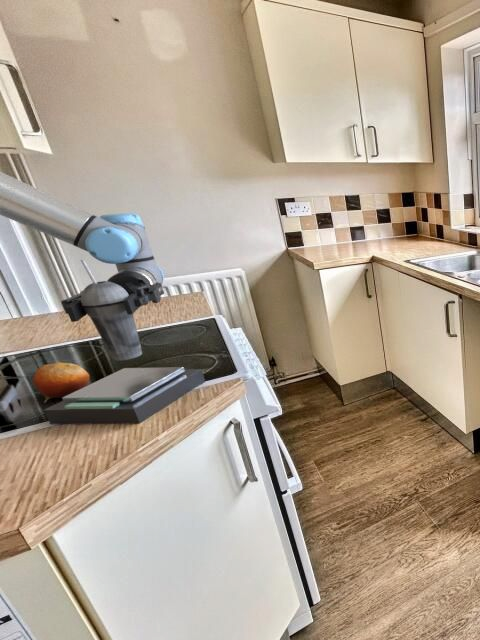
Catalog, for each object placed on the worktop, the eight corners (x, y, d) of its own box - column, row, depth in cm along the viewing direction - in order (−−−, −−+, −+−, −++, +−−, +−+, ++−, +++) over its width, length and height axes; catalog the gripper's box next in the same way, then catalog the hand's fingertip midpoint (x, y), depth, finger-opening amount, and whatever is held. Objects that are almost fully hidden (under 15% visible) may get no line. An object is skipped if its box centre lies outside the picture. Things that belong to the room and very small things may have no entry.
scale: (50, 424, 77) (41, 407, 76) (130, 382, 93) (124, 367, 92) (139, 423, 77) (132, 406, 75) (205, 381, 92) (200, 366, 91)
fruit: (29, 390, 87) (43, 354, 87) (81, 396, 93) (95, 363, 93) (21, 404, 82) (36, 366, 82) (78, 410, 87) (92, 374, 87)
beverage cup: (158, 352, 88) (123, 256, 81) (116, 365, 82) (74, 263, 75) (138, 347, 91) (103, 254, 84) (96, 360, 85) (55, 261, 77)
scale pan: (63, 402, 78) (61, 397, 77) (125, 372, 90) (124, 368, 89) (132, 401, 77) (130, 396, 77) (185, 371, 89) (183, 367, 89)
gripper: (189, 296, 103) (173, 320, 84) (79, 309, 94) (34, 340, 75) (180, 265, 100) (161, 283, 81) (66, 276, 91) (15, 299, 72)
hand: (100, 310), depth 78 cm, fingers closed on beverage cup, 7 cm apart
